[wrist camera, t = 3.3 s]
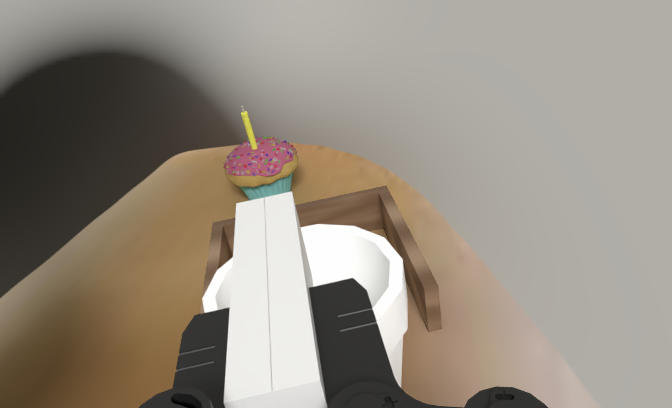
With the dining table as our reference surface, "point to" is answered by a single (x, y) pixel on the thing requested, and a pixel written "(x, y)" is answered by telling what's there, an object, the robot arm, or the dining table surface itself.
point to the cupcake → (261, 164)
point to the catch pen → (358, 211)
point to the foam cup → (344, 263)
